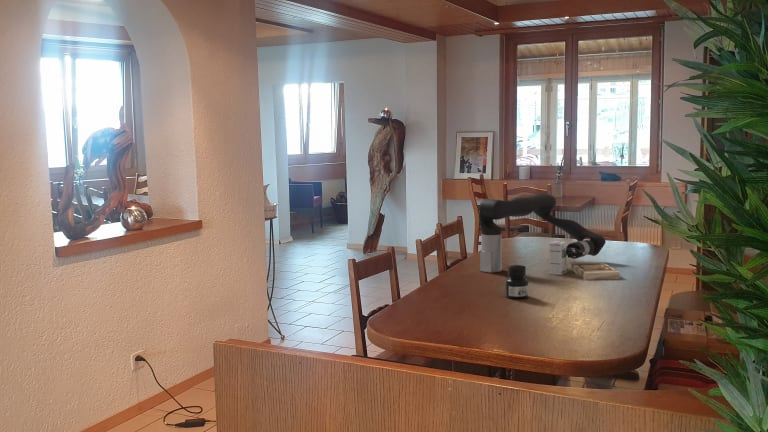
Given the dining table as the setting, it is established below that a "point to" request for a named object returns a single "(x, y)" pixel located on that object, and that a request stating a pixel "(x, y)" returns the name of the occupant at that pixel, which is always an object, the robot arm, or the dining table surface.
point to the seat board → (594, 271)
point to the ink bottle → (516, 282)
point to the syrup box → (557, 257)
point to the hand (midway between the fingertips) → (559, 254)
